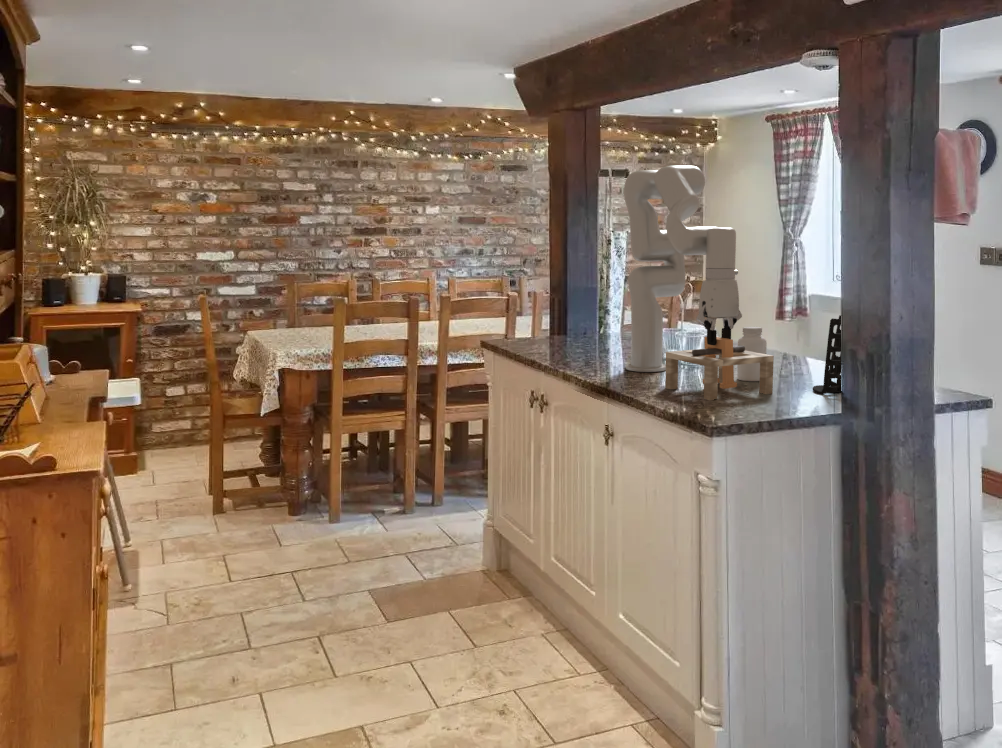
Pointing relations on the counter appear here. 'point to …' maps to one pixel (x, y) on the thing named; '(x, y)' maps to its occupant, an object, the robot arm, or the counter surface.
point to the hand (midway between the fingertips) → (718, 343)
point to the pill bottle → (754, 344)
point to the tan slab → (726, 352)
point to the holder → (832, 361)
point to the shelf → (712, 367)
